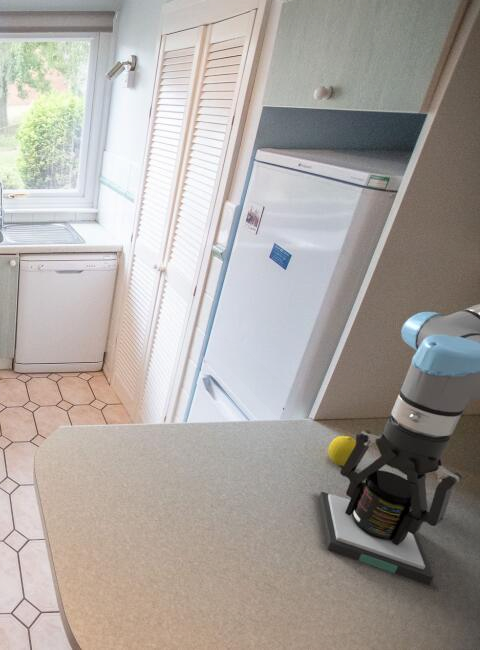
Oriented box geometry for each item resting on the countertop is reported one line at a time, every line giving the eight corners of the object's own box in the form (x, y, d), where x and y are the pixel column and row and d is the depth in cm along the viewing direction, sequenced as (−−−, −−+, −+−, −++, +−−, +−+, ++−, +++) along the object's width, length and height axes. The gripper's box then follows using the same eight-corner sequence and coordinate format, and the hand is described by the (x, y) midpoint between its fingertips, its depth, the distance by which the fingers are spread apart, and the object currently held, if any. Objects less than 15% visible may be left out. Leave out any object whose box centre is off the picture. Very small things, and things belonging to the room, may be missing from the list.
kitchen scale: (405, 527, 88) (411, 515, 87) (428, 587, 77) (435, 574, 76) (317, 500, 94) (322, 488, 93) (326, 551, 83) (331, 539, 82)
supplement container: (406, 544, 81) (428, 500, 77) (363, 539, 82) (382, 495, 78) (382, 514, 87) (402, 472, 83) (343, 509, 88) (360, 468, 84)
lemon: (350, 477, 100) (362, 448, 97) (320, 464, 104) (331, 436, 101) (357, 466, 103) (368, 438, 100) (328, 453, 107) (338, 426, 104)
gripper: (340, 400, 82) (305, 497, 91) (493, 469, 66) (432, 578, 75) (362, 390, 85) (326, 484, 94) (513, 452, 69) (453, 559, 78)
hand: (373, 525), depth 84 cm, fingers closed on supplement container, 7 cm apart
